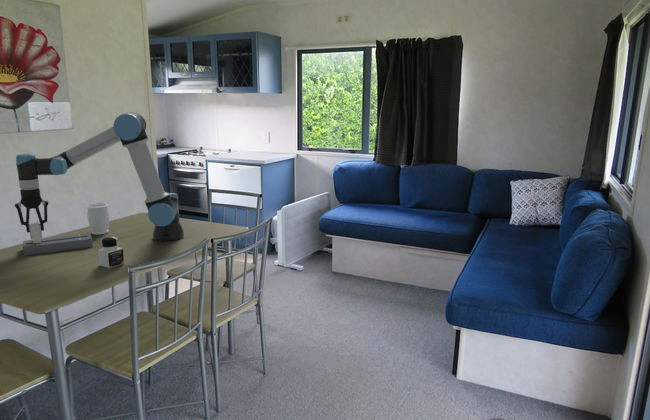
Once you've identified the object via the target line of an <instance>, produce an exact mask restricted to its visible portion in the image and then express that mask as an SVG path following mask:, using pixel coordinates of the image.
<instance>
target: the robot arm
mask: <svg viewBox="0 0 650 420" xmlns="http://www.w3.org/2000/svg"><path fill="white" fill-rule="evenodd" d="M146 130H147V122H146V120H145V117H143V116H142V115H141V114H139V113H137V112H125V113H121V114H119V115H118V116H117V117H115V120H114V121H113V126H111V127H110V128H107V129H105V130H103V131H101V132H100V133H98V134H96V135H94V136H92V137H90V138H88V139H86V140H85V141H83V142H80V143H78V144H77V145H75V146H72V147H71V148H68V149H67V150H66V151H63V152H61V153H59V154H58V155H55V156H51V157H49V158H48V157H47V158H44V157H43V158H38V157H36V154H35V153H21V154H17V155H16V156H15V160H16V161H15V163H16V164H15V165H16V170H17V174H18V175H17V176H18V186H19V188H20V190H19V191H20V201H19V202H17V203H14V207H15V209H17V213H18V214H17V215H18V217H19V222H20V225H21V226H25V228H26V233H29V236H30V240H33V238H32V231H31V223H30V211H31V209H34V210H35V212H36V215H37V217H38V222H39V232H40V239H43V231H45V227H44V224H46V223H48V206H49V200H45V199H43V198H42V197H41V190H40V183H39V182H40V181H39V176H61V175H62V176H63V175H66V173H67V172H68V170H69V169H70V168H72V167H74V166H76V165H77V164H79V163H82V162H83V161H85V160H87V159H90V158H91V157H93V156H95V155H97V154H98V153H101V152H103V151H105V150H107V149H109V148H110V147H113V146H114V145H116V144H118V143H120V142H121V145H122V147H124V148H125V149H127V150H128V152H129V156H130V158H131V161H132V164H133V166H134V168H135V171H136V174H137V177H138V178H139V181H140V184H141V187H142V189H143V193H144V194H145V196H146V197H145V200H144V204H145V206H146V209H147V218H148V220H149V221H150V223H152V224H153V225H154V228H153V232H152V239H153V240H155V241H158V242H170V241H176V240H180V238H181V239H182V238H184V237H183V236H184V233H185V232H184V228H182V225H181V223H180V213H179V212H180V211H179V209H180V208H179V195H178V194H177V193H176V192H175V193H174V192H166V191H165V188H164V187H163V184H162V180H161V178H160V175H159V173H158V171H157V168H156V167H157V166H156V165H155V163H154V160H153V158H152V155H151V152H150V149H149V146H148V144H147V142H148V141H149V137H148V135H147V132H146ZM41 203H42V206H43V213H44V214H43V215H44V216H43V217H44V219H43V217H42V213H41V211H40V208H39V207H40V205H41ZM22 206H23V207H25V208H26V212H25V213H26V214H25V220H24V217H23V212H22V209H21V208H22Z"/></svg>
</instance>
